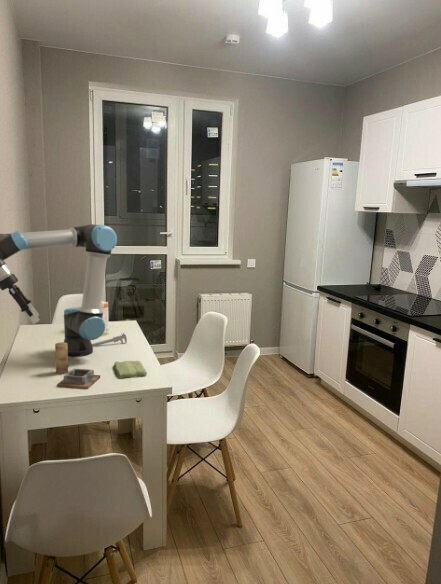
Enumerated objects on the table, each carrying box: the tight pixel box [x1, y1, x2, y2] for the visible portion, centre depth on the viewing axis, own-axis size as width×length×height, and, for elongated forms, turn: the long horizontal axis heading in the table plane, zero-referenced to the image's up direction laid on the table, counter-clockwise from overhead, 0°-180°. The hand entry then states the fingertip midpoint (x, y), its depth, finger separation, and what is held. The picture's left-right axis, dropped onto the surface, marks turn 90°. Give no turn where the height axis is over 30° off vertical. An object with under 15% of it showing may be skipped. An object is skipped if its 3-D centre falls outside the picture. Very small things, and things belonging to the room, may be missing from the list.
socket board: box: [56, 368, 101, 390], centre depth 179 cm, size 13×13×4 cm
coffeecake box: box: [99, 300, 110, 338], centre depth 251 cm, size 15×7×20 cm, turn 55°
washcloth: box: [112, 360, 148, 379], centre depth 194 cm, size 13×18×3 cm
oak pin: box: [54, 341, 69, 375], centre depth 189 cm, size 5×5×13 cm
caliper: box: [92, 332, 128, 348], centre depth 231 cm, size 20×1×6 cm, turn 115°
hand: (36, 319), depth 182 cm, fingers open, 13 cm apart
